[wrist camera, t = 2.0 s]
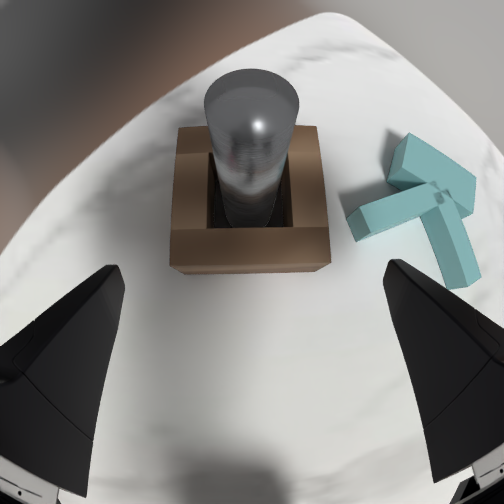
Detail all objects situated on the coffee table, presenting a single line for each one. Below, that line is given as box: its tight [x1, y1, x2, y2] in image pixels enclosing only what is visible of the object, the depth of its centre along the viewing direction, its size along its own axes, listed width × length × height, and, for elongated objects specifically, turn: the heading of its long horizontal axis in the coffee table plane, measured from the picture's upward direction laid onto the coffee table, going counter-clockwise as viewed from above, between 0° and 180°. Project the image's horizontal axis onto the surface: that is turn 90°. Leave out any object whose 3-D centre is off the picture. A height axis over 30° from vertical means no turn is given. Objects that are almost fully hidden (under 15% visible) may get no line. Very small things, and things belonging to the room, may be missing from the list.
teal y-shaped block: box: [346, 133, 481, 290], centre depth 21 cm, size 10×13×3 cm
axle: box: [204, 69, 299, 228], centre depth 16 cm, size 4×4×13 cm
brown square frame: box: [170, 125, 331, 274], centre depth 20 cm, size 10×10×4 cm
